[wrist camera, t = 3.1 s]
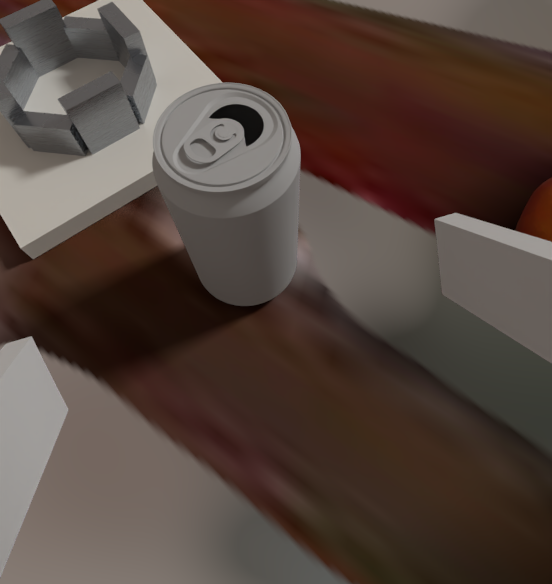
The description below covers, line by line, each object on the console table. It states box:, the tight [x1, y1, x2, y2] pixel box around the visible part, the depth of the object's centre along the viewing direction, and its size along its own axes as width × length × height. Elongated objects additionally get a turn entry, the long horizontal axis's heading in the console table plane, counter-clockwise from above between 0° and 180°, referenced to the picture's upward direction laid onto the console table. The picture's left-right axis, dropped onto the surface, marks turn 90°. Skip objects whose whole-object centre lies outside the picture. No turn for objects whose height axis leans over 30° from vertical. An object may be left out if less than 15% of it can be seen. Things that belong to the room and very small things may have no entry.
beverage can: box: [152, 83, 300, 306], centre depth 23 cm, size 6×6×12 cm
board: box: [0, 0, 222, 259], centre depth 34 cm, size 18×18×2 cm
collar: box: [0, 0, 157, 156], centre depth 31 cm, size 10×10×4 cm
